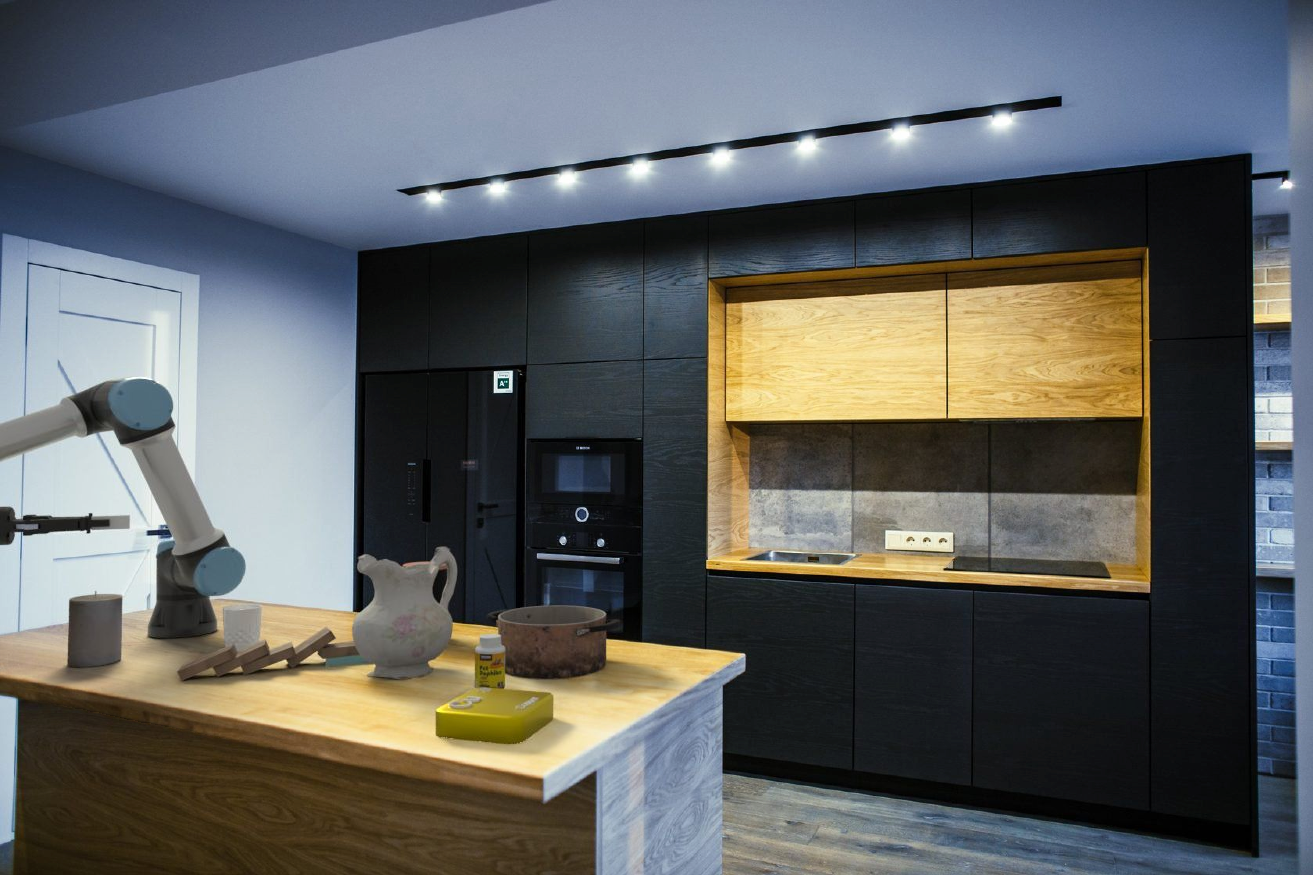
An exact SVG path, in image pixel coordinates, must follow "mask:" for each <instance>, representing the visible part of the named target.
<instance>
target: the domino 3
mask: <svg viewBox="0 0 1313 875" xmlns="http://www.w3.org/2000/svg"><path fill="white" fill-rule="evenodd" d="M294 648H295V646H294V645H293V641H290V642H287V643H283V644H282V645H279V646H276V647H273V648H269V654H266V655H264V656H262V657H260V658H258V659H256V660H253V661H251V662H249V663H247V664H245V665H243V666H241V667H240V668H241V669H242V670H241V671H242V673H243V675H244V676H245V675H249V674H251V673H254V672H256V671H260V670H262V669H264V668H267V667H269V666H270V667H271V666H272V665H275V664H278V663H280V662H283V661H286V660H285V659H288V658H291V657H293V656H296V653H295V650H294Z"/></svg>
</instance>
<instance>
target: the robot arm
mask: <svg viewBox="0 0 1313 875" xmlns="http://www.w3.org/2000/svg"><path fill="white" fill-rule="evenodd" d="M173 400H174V399H173V397H172V395H171V393H170V392H169V390H168V389H167V388H166V386H164V385H163V384H162V383H160V382H159V381H157V380H154V379H152V378H148V377H143V376H130V377H124V378H117V379H110V380H105V381H103V382H101V383H98V384H96V385H93V386H91V387H89V388H87V389H84V390H83V391H80V392H77V393H75V394H72V395H69V396H66V397H62V398H61V400H60V402H59V404H56V405H53V406H50V407H48V408H44V409H41V410H39V411H35V412H31V413H29V414H25V415H22V416H20V417H16V418H13V419H11V420H7V421H3V422H1V423H0V463H1V462H4V461H6V460H9V459H10V460H11V459H13V458H15V457H18V456H20V455H23V454H27V453H30V452H33V451H35V450H38V449H40V448H43V447H47V446H49V445H52V444H55V443H58V442H60V441H63V440H66V439H70V438H72V437H74V436H75V437H78V438H80V439H82V438H86V437H88V436H91V435H94V434H99V433H104V432H111V431H113V433H114V435H115V437H116V439H117V440H118V443H119V445H120V446H121V447H124V448H127V449H128V450H131V452H132V454H133V457H134V458H135V460H136V463H137V465H138V467H139V469H140V472H141V473H142V475H143V478H144V479H145V482H146V484H147V486H148V488H149V490H150V492H151V494H152V497H153V499H154V501H155V503H156V505H157V507H158V509H159V511H160V513H161V515H162V517H163V519H164V522H165V524H166V526H167V529H168V530H169V532H170V534H171V536H172V539H168V540H163V541H160V542H159V543H158V545H157V547H156V549H157V550H156V554H155V559H156V583H155V584H156V587H155V588H156V590H155V591H156V593H155V594H156V598H155V600H156V601H155V605H154V608H153V611H152V613H151V617H150V619H149V621H148V624H147V636H148V637H150V638H157V639H171V638H172V639H173V638H175V639H176V638H177V639H178V638H186V637H196V636H200V635H202V636H203V635H206V634H211V633H213V632H215V631H217V630H218V619H217V616H216V613H215V609H214V607H213V605H212V602H211V597H220V596H224V595H228V594H230V593H231V592H233V591H234V590H235V589H237V587H239V585H240V584H241V583H242V582H243V579H244V576H245V574H246V571H247V570H246V569H247V568H246V567H247V566H246V560H245V558H244V555H243V554H242V553H241V552H240V551H239V550H238V549H236V548H235V547H232V546H231V545H230V543H229V541H228V538H227V536H226V534H225V532H224V530H222V529H219V528H216V527H214V525H213V523H212V520H211V519H210V516H209V514H208V513H207V509H206V508H205V506H204V503H203V501H202V499H201V497H200V495H199V491H198V490H197V488H196V486H195V483H194V481H193V479H192V477H191V474H190V472H189V470H188V468H187V465H186V464H185V461H184V460H183V458H182V455H181V453H180V451H179V448H178V446H177V444H176V442H175V440H174V437H173V433H174V431H175V429H176V424H175V422H174V420H173V417H172V414H173V411H174V401H173ZM130 518H131V516H130V514H129V515H127V514H123V515H121V514H119V515H94V514H93V513H92V512H89V513H88V515H84V516H83V515H82V516H79V515H78V516H52V515H50V514H49V515H37V514H25V515H22V518H16V511H15V509H14V508H13V507H12V506H0V546H10V545H11V544H13V543H14V540H15V537H16V533H22V537H25V536H26V537H27V536H28V537H29V536H33V535H47V534H50V533H59V532H60V533H61V532H85V531H86V532H85V534H89V535H90V534H91V531H98V530H99V531H101V530H102V531H103V530H107V531H108V530H129V529H130V526H131V525H130V520H131V519H130Z"/></svg>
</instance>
